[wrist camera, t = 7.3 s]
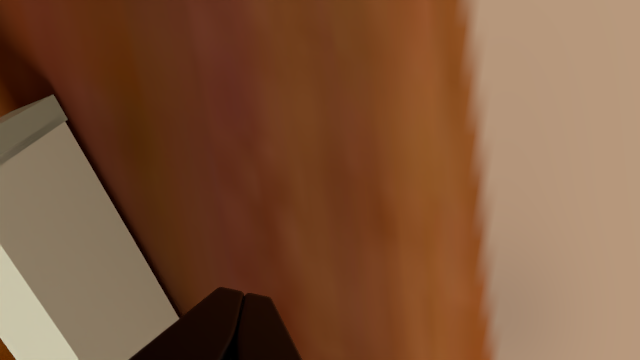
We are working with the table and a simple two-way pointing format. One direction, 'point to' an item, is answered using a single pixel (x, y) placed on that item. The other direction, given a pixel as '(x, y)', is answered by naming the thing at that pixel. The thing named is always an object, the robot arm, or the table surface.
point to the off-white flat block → (67, 251)
